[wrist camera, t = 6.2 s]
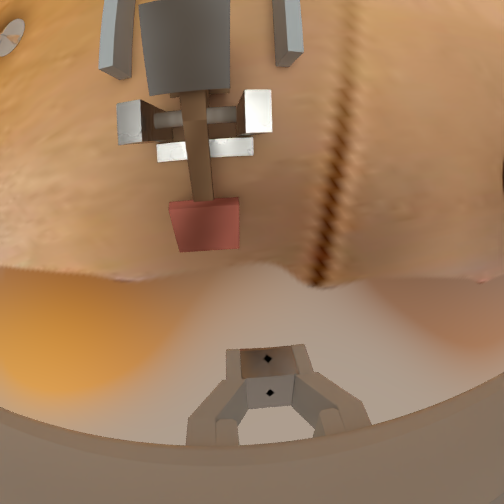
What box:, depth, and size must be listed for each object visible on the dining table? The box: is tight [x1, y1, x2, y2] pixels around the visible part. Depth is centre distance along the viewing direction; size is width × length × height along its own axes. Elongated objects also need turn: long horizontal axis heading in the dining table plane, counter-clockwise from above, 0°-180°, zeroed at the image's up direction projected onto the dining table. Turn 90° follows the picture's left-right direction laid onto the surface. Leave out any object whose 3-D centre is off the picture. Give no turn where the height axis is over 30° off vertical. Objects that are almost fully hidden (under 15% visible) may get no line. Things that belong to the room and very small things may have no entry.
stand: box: [117, 90, 272, 162], centre depth 19 cm, size 8×4×10 cm, turn 92°
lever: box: [139, 0, 239, 252], centre depth 19 cm, size 5×19×10 cm
